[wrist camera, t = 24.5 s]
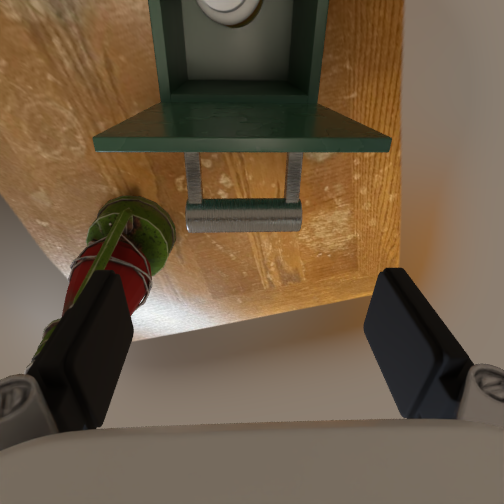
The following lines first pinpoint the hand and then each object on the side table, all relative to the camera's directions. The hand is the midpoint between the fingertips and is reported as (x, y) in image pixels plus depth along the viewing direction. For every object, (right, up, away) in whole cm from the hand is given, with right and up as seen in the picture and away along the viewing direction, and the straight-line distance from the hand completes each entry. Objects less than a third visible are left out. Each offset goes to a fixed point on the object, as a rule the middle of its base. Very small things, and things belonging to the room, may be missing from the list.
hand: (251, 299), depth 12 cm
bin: (-1, +25, +20) cm, 32 cm away
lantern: (-16, +5, +32) cm, 36 cm away
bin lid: (-1, +10, +7) cm, 12 cm away
